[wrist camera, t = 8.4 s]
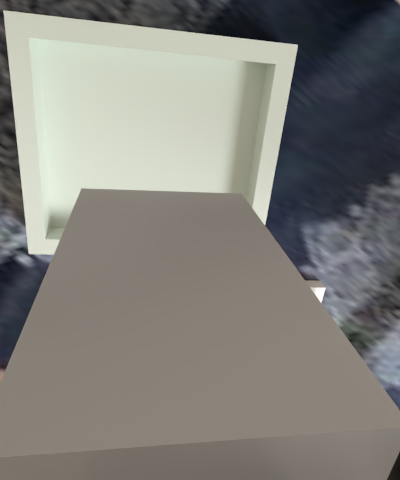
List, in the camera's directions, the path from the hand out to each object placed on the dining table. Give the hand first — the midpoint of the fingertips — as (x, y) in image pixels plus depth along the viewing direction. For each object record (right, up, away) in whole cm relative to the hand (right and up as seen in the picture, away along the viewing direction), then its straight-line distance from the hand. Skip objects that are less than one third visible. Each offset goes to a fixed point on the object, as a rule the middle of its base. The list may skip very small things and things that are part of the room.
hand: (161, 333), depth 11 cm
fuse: (0, +1, +2) cm, 2 cm away
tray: (-2, +10, +17) cm, 20 cm away
